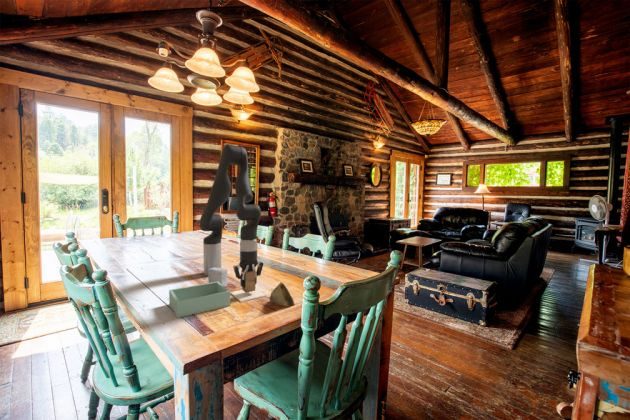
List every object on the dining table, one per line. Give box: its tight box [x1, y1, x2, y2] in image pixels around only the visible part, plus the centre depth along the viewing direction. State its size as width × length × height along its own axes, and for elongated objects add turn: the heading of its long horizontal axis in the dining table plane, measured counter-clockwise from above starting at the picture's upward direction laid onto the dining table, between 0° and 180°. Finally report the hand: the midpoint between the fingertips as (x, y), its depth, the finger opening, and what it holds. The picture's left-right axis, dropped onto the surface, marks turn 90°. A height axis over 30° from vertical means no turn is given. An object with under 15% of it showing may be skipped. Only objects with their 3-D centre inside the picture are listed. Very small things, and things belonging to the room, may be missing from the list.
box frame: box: [168, 281, 231, 319], centre depth 117 cm, size 15×20×6 cm
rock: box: [269, 282, 296, 307], centre depth 121 cm, size 11×9×10 cm
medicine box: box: [207, 267, 228, 288], centre depth 138 cm, size 8×4×9 cm, turn 71°
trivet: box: [230, 286, 267, 303], centre depth 129 cm, size 12×12×1 cm
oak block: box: [241, 270, 257, 293], centre depth 129 cm, size 4×4×9 cm
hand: (248, 286), depth 129 cm, fingers closed on oak block, 4 cm apart
